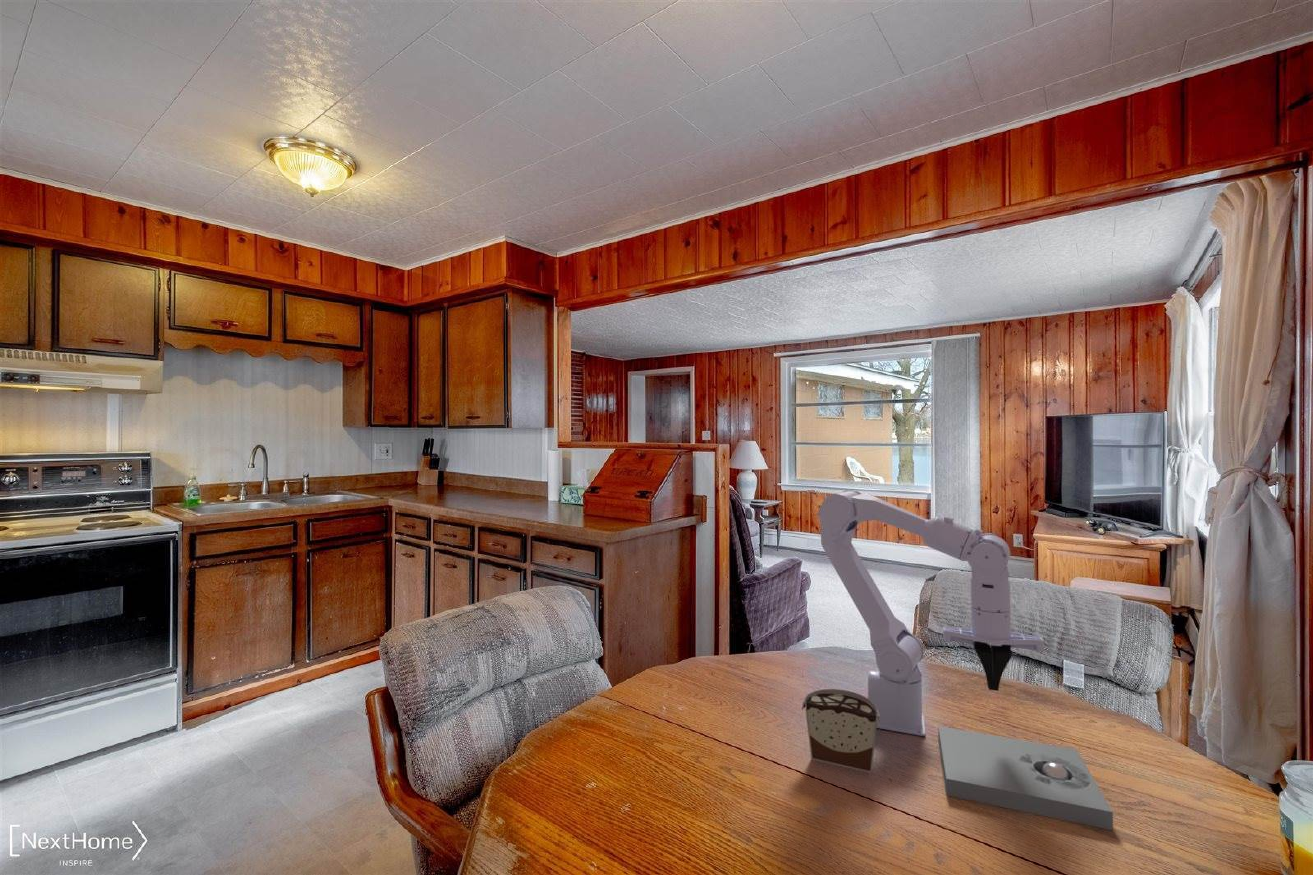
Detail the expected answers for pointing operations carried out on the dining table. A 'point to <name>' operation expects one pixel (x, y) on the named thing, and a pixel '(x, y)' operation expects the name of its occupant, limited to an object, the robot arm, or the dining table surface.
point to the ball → (1054, 771)
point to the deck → (1020, 777)
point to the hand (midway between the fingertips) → (992, 687)
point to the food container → (841, 728)
